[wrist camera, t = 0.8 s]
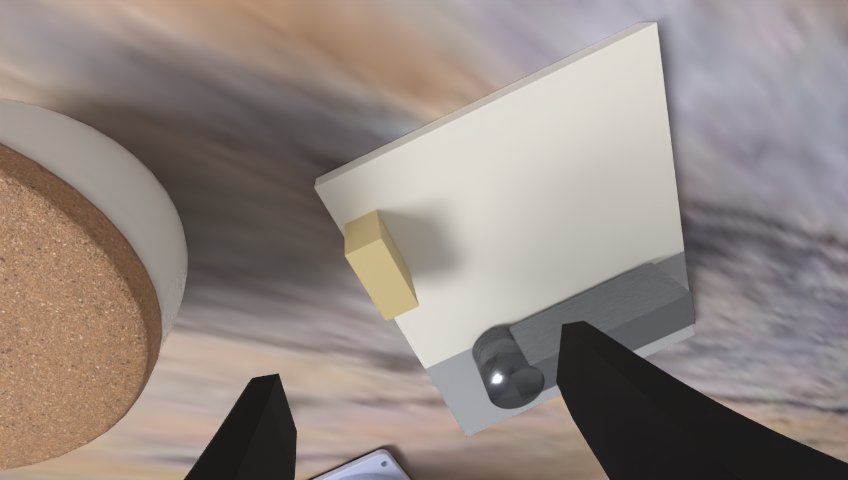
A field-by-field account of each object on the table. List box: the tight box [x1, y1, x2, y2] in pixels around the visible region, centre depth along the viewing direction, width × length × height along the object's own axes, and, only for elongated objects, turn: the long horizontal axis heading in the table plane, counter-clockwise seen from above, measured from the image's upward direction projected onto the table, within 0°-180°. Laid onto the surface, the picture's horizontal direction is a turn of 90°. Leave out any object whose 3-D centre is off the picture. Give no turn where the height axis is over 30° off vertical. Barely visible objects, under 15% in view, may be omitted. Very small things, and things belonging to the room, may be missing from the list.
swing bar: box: [472, 262, 695, 409], centre depth 21 cm, size 10×3×3 cm, turn 114°
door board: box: [314, 22, 694, 437], centre depth 20 cm, size 18×15×4 cm
